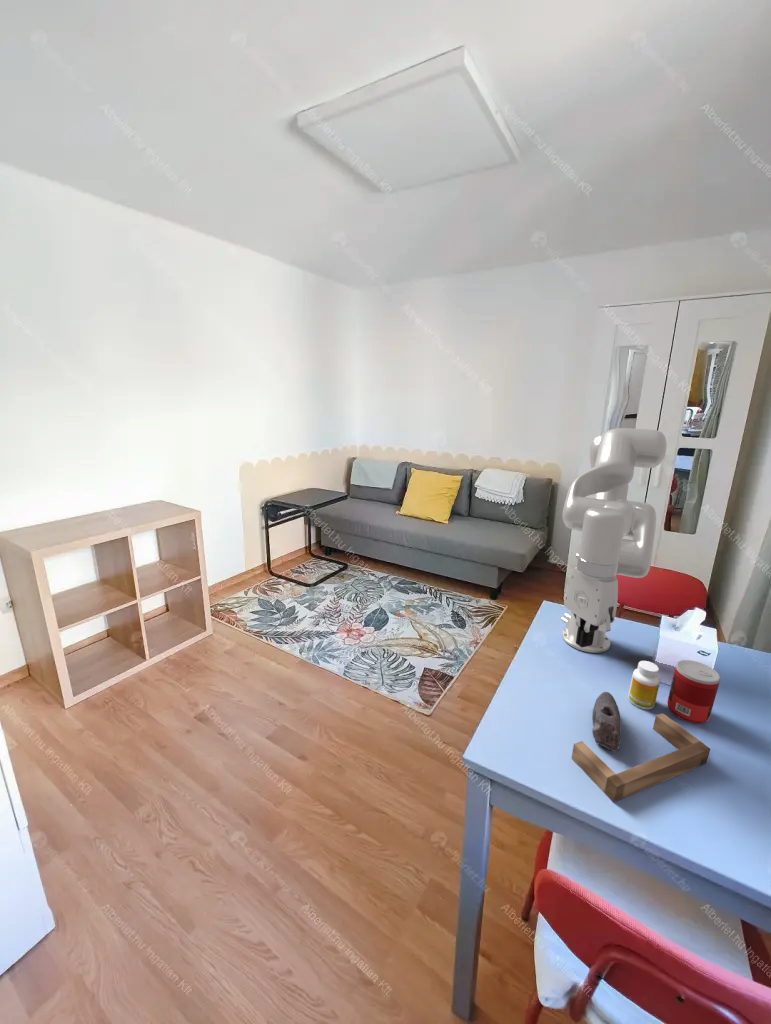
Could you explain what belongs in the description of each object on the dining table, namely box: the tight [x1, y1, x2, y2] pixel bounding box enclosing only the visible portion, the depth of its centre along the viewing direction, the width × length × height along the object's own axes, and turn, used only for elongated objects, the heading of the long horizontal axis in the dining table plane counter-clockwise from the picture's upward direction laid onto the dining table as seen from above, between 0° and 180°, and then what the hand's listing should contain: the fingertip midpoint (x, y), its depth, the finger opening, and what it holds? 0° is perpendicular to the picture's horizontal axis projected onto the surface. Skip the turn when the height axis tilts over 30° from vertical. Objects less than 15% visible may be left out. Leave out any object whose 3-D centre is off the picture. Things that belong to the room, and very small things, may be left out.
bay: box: [571, 712, 711, 803], centre depth 85 cm, size 10×24×4 cm, turn 111°
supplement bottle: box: [627, 660, 661, 710], centre depth 100 cm, size 5×5×10 cm
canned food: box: [667, 659, 721, 725], centre depth 96 cm, size 8×8×11 cm
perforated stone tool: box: [591, 691, 622, 752], centre depth 92 cm, size 15×5×7 cm, turn 154°
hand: (583, 644), depth 96 cm, fingers closed
